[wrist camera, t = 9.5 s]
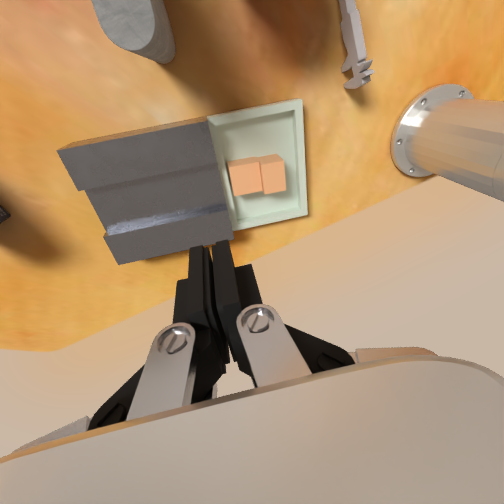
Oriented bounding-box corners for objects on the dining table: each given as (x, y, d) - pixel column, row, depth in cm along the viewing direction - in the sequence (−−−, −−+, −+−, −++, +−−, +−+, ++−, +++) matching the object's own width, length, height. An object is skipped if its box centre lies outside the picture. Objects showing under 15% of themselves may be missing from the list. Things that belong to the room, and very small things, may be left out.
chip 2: (255, 157, 38) (276, 153, 38) (259, 184, 40) (279, 181, 40) (261, 165, 35) (284, 160, 35) (264, 194, 37) (286, 190, 37)
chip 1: (255, 156, 38) (259, 161, 35) (258, 183, 40) (262, 190, 38) (226, 161, 38) (228, 167, 35) (232, 189, 40) (234, 196, 37)
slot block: (206, 116, 35) (207, 120, 31) (231, 225, 43) (234, 239, 40) (72, 142, 34) (56, 150, 30) (125, 248, 43) (118, 265, 39)
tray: (297, 98, 35) (302, 99, 34) (303, 209, 44) (307, 214, 42) (206, 116, 35) (206, 118, 33) (231, 225, 43) (232, 231, 42)
